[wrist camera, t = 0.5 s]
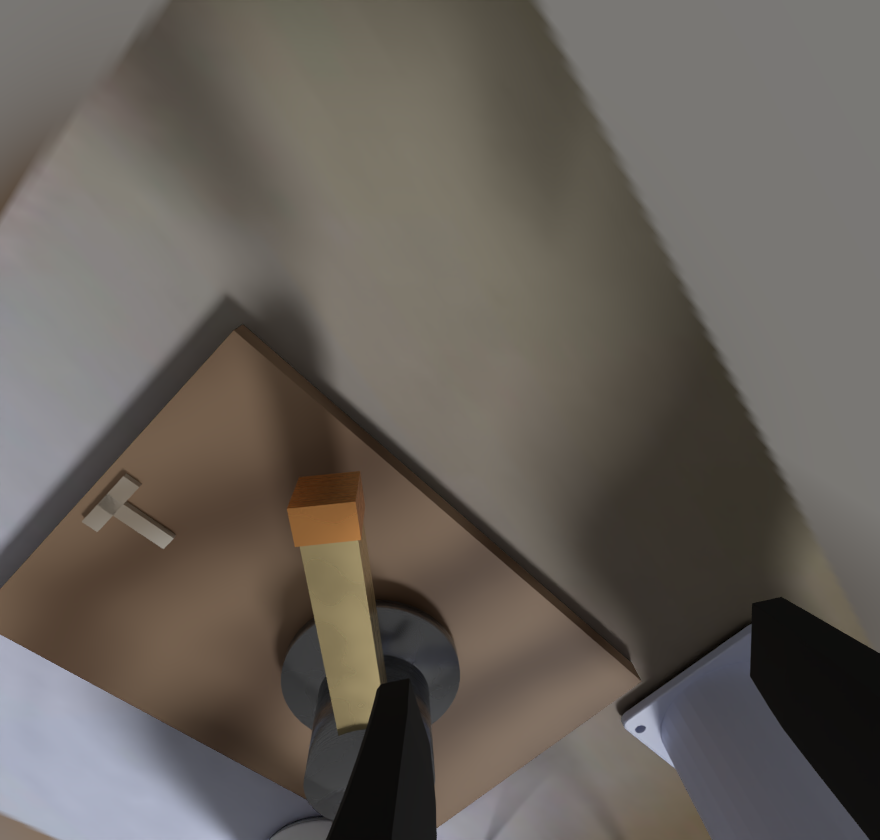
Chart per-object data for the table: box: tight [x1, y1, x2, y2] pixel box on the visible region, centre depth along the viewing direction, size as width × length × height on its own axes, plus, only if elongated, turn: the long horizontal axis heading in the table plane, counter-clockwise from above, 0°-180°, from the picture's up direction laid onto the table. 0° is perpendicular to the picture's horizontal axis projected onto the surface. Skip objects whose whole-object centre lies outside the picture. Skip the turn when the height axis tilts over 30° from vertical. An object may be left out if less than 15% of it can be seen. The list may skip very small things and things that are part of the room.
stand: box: [0, 325, 642, 828], centre depth 21 cm, size 22×15×1 cm
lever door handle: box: [281, 471, 460, 821], centre depth 17 cm, size 13×7×4 cm, turn 4°
